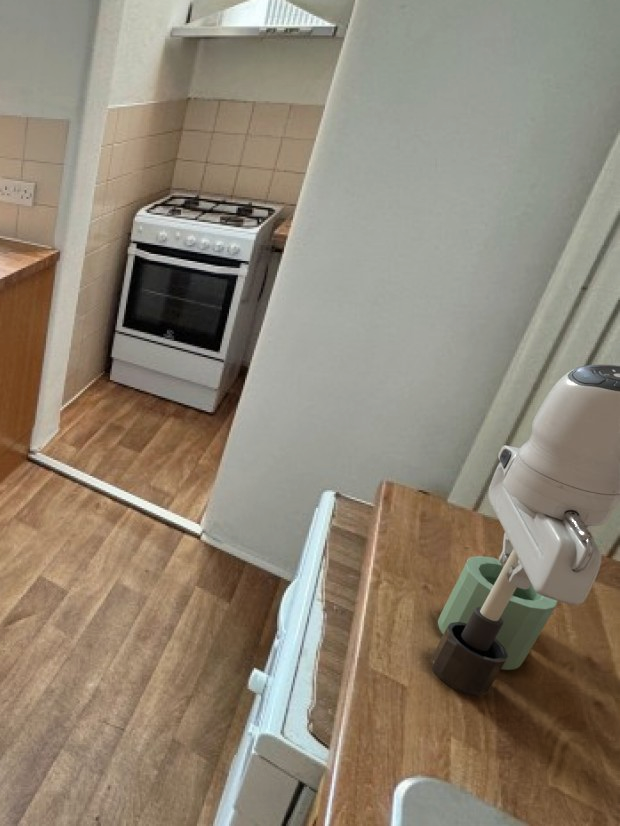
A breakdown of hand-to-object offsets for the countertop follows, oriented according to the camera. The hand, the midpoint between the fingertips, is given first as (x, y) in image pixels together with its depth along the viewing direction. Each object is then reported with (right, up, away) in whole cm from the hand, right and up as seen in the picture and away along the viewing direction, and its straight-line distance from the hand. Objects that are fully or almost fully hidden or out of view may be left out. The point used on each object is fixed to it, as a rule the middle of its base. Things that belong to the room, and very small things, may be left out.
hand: (512, 575), depth 78 cm
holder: (0, -18, +7) cm, 19 cm away
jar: (+8, -16, +12) cm, 22 cm away
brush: (0, -11, +5) cm, 12 cm away
